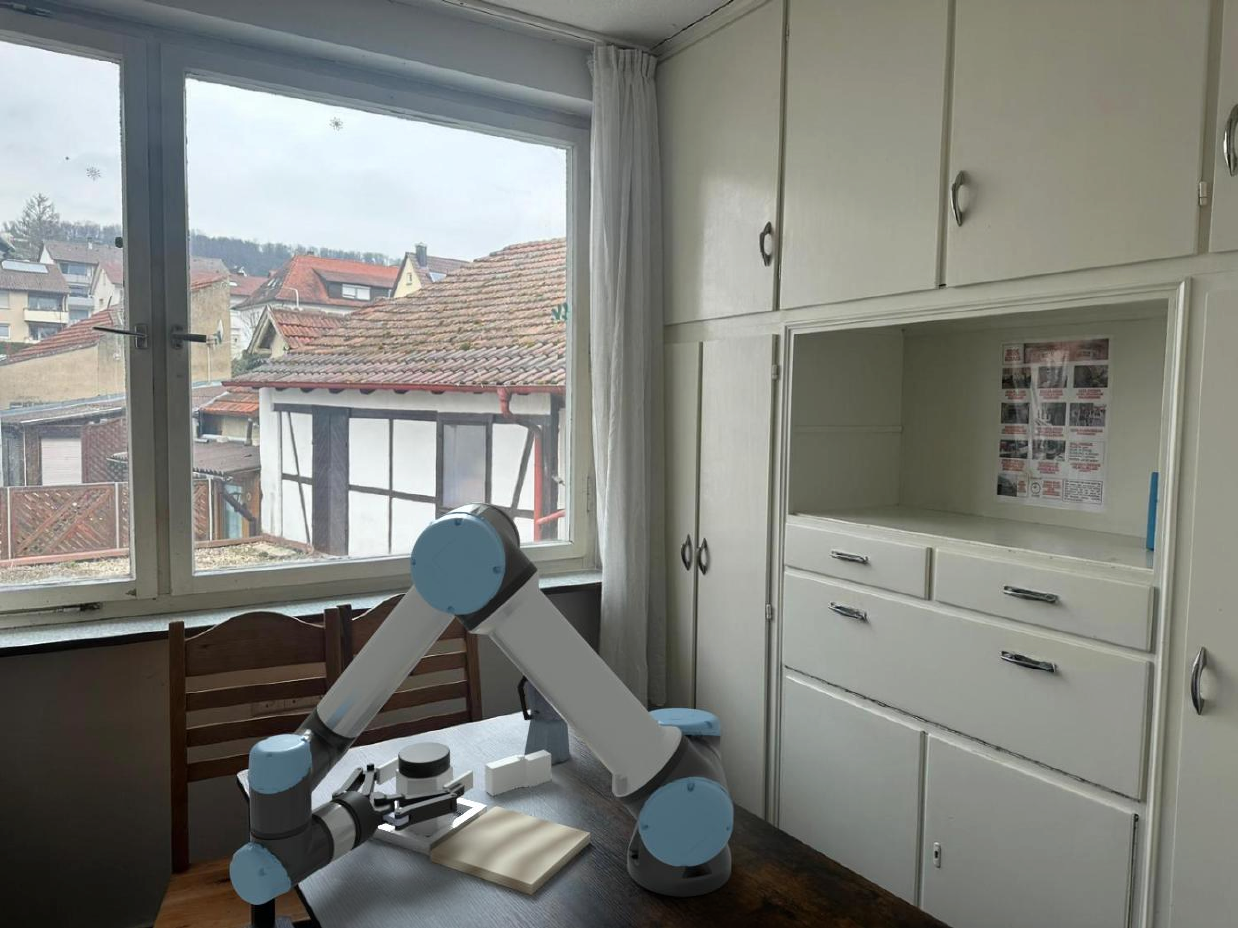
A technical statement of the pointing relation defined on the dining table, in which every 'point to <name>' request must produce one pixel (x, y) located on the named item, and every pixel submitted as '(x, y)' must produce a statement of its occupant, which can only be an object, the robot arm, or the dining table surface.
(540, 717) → the moka pot
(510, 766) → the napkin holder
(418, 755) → the jar
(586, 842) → the board
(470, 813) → the white square frame
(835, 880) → the dining table surface
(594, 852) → the dining table surface
